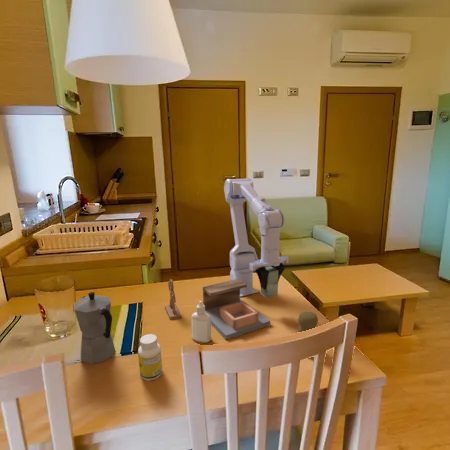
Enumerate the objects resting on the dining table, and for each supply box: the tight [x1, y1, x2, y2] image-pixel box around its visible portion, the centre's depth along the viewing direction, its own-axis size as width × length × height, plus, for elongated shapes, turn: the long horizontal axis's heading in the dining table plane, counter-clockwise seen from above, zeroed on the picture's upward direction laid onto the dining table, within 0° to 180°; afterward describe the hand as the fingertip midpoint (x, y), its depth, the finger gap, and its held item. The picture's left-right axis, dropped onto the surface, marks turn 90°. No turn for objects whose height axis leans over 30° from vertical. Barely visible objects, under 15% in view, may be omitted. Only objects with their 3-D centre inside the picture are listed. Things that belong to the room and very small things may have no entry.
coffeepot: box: [73, 291, 116, 365], centre depth 82 cm, size 15×9×18 cm, turn 49°
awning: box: [202, 279, 247, 310], centre depth 105 cm, size 6×14×8 cm, turn 119°
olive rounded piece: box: [297, 310, 319, 332], centre depth 84 cm, size 6×6×11 cm
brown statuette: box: [164, 279, 182, 321], centre depth 104 cm, size 9×4×12 cm, turn 22°
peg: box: [260, 266, 279, 299], centre depth 102 cm, size 4×4×9 cm
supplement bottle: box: [137, 333, 163, 381], centre depth 75 cm, size 5×5×10 cm
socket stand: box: [205, 298, 271, 340], centre depth 101 cm, size 18×16×4 cm
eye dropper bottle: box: [190, 300, 212, 344], centre depth 89 cm, size 4×6×12 cm
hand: (269, 286), depth 102 cm, fingers closed on peg, 4 cm apart
